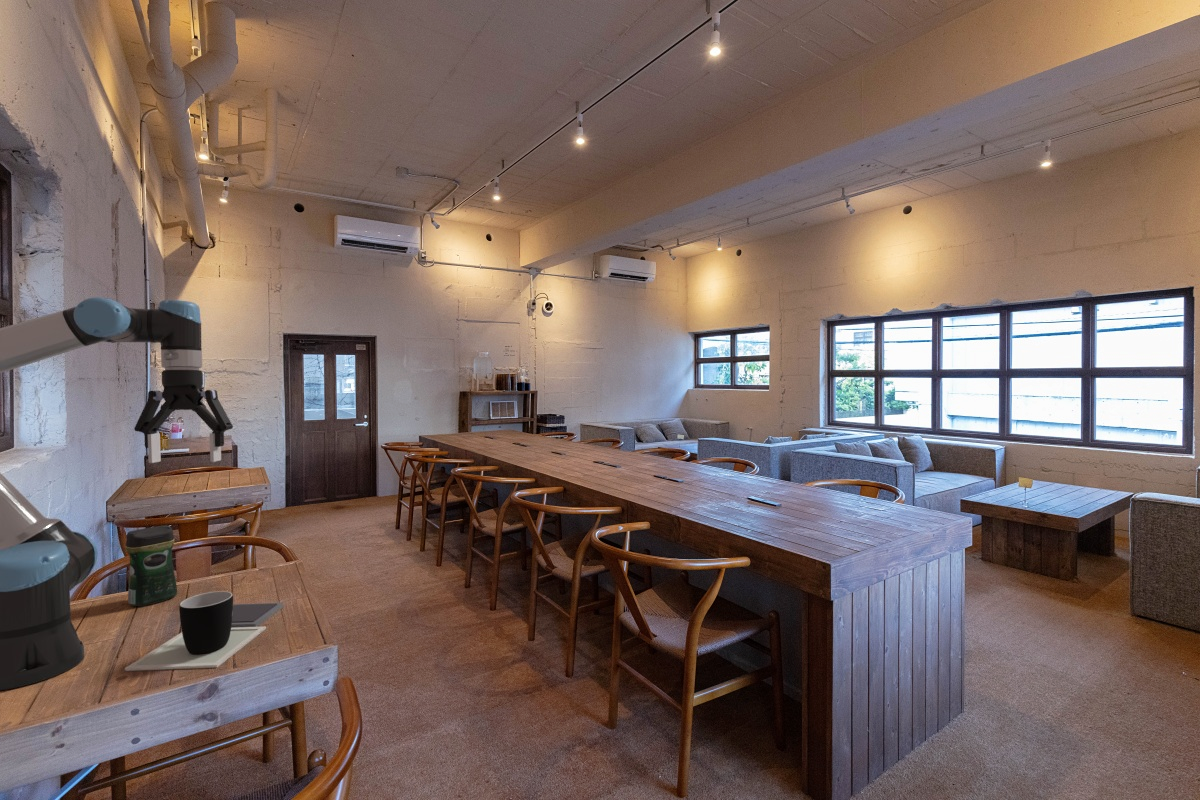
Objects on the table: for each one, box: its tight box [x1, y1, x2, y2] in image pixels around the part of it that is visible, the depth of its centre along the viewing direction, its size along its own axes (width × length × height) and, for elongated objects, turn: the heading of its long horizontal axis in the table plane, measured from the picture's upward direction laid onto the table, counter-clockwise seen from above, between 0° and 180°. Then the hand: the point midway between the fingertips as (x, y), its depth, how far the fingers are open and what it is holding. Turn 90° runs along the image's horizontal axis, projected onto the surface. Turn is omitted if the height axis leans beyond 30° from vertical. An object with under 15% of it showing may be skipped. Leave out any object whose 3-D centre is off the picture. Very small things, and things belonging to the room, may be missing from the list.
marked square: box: [124, 625, 267, 672], centre depth 114 cm, size 17×17×1 cm
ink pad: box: [231, 602, 285, 628], centre depth 129 cm, size 12×12×1 cm
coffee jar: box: [124, 524, 178, 607], centre depth 141 cm, size 10×8×19 cm
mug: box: [179, 590, 234, 655], centre depth 115 cm, size 12×9×10 cm
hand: (185, 461), depth 128 cm, fingers open, 13 cm apart
